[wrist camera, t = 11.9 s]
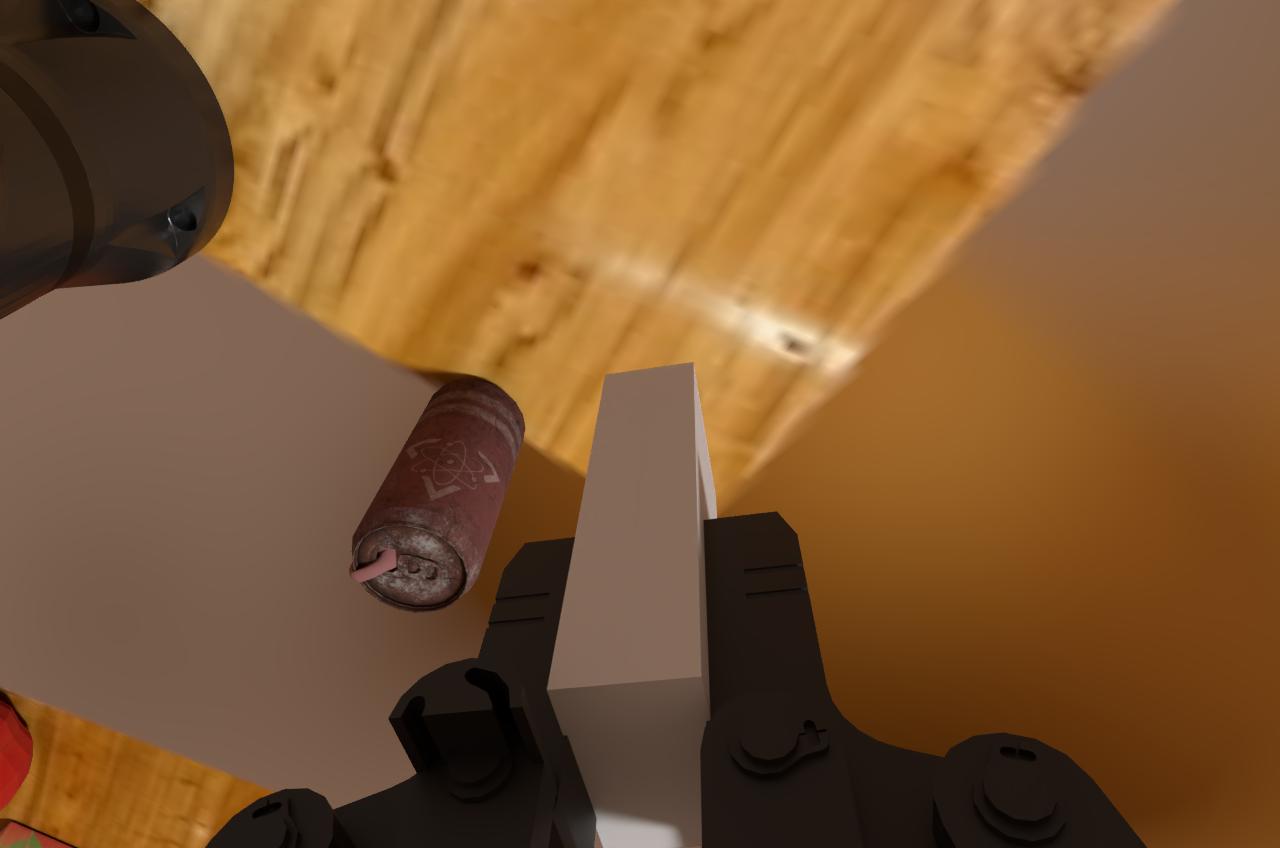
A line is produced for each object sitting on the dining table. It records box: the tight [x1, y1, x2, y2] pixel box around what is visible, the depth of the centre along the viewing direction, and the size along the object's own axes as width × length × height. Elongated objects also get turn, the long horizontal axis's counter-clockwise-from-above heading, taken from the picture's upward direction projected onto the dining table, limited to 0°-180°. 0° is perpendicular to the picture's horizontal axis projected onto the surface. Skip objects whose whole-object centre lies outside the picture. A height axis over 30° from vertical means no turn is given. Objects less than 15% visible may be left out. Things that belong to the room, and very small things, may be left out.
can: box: [349, 380, 525, 613], centre depth 42 cm, size 6×6×14 cm
